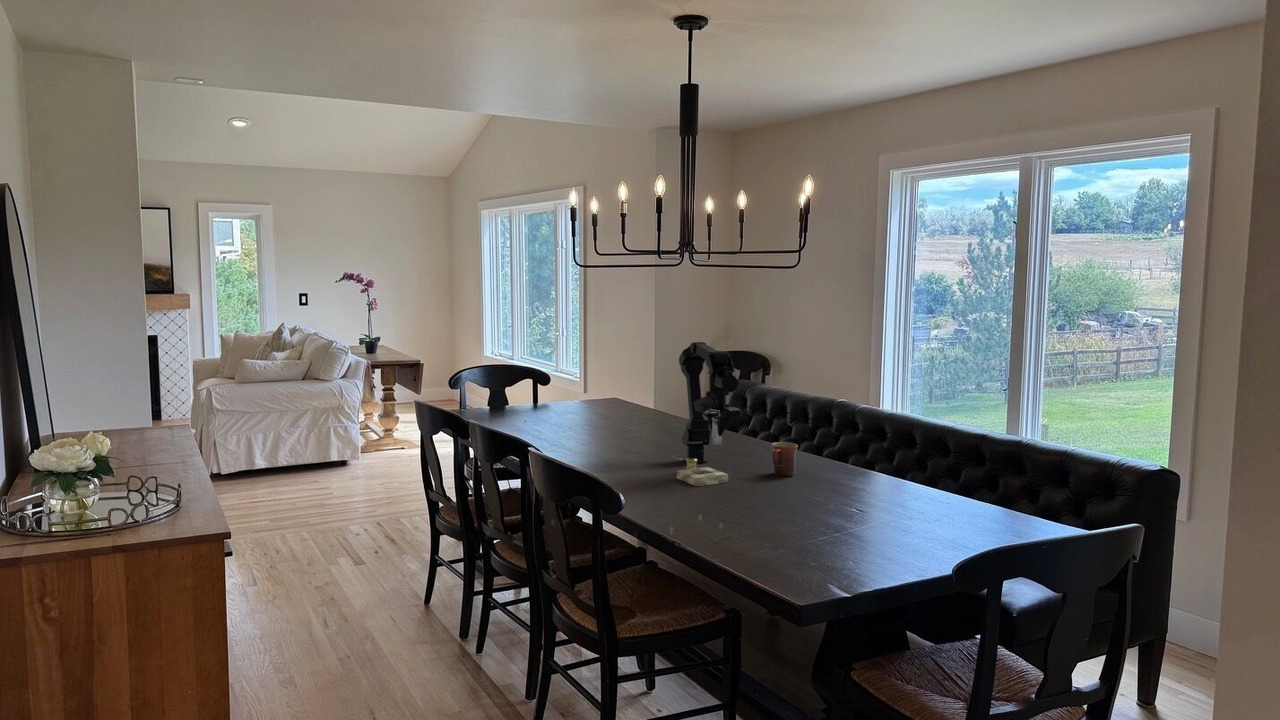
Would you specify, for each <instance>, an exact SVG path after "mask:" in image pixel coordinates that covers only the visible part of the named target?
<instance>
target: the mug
mask: <svg viewBox="0 0 1280 720" xmlns="http://www.w3.org/2000/svg"><path fill="white" fill-rule="evenodd" d="M771 447H772V454H771V460H772V468H773V469H772V471H773V474H774V475H775V476H778V477H792V476H793V475H794V474H795V471H796V455H797V450H798V447H799V445H798V444H797V443H794V442H788V441H779V442H777V441H776V442H772V443H771Z"/></svg>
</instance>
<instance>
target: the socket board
mask: <svg viewBox="0 0 1280 720" xmlns="http://www.w3.org/2000/svg"><path fill="white" fill-rule="evenodd" d="M676 479H677V480H680V481H683V482H686V483H688V484H690V485H693V486H695V487H703V486H707V485H708V486H711V485H718V484H725V483H726V484H727V483H728V482H729V473H725V472H723V471H720V470H717V469H714V468H712V467H708V466H704V467H702V466H701V467H696V468H693V469H687V468H685V469H677V470H676Z"/></svg>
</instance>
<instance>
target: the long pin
mask: <svg viewBox="0 0 1280 720" xmlns="http://www.w3.org/2000/svg"><path fill="white" fill-rule="evenodd" d="M722 437H723V435H722V436H718V424H717V420H716V418H715V417H712V432H711V445H713V446H721V445H722V444H723V443H722V439H723V438H722Z"/></svg>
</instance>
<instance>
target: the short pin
mask: <svg viewBox="0 0 1280 720" xmlns="http://www.w3.org/2000/svg"><path fill="white" fill-rule="evenodd" d="M685 459H686V461H685V462H686V469H693V468H697V463H696V462H697V458H687V457H686V458H685Z"/></svg>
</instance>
